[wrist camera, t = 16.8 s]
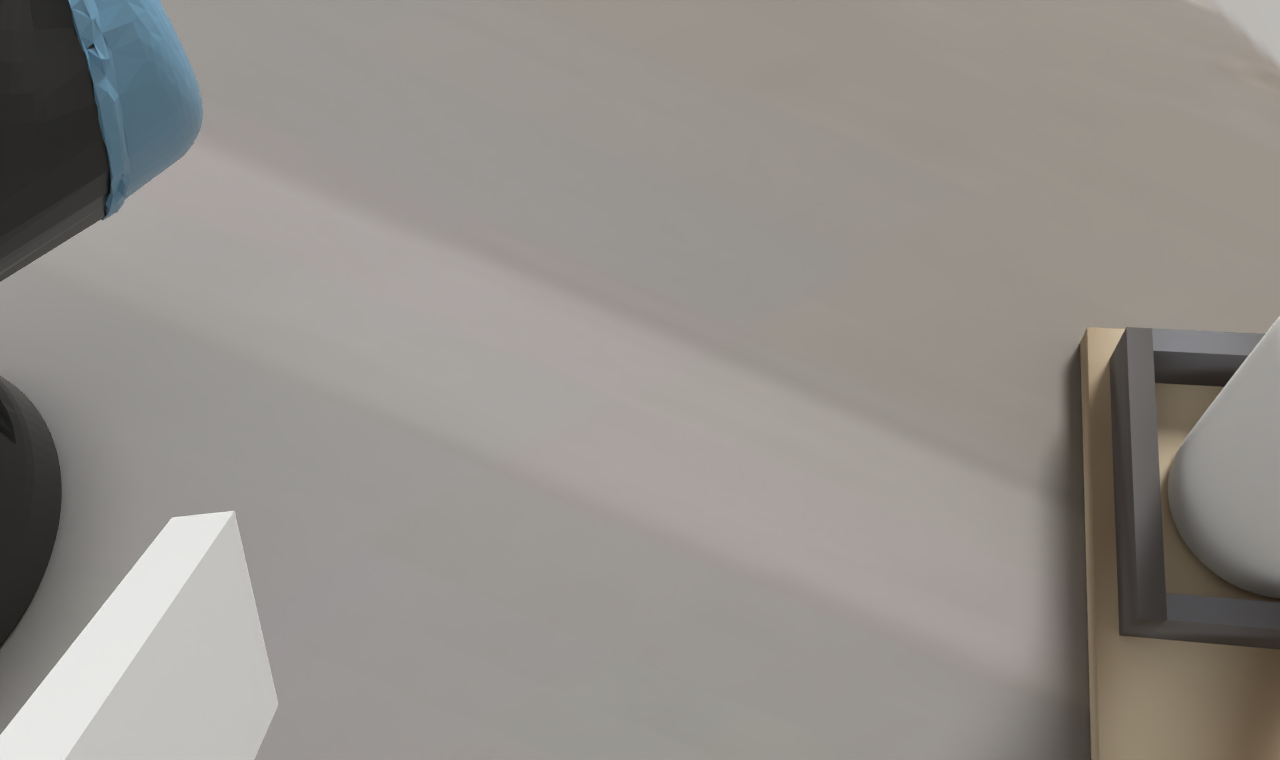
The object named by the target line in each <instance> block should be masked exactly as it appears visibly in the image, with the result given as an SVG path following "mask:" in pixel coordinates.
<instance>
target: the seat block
mask: <svg viewBox="0 0 1280 760" xmlns="http://www.w3.org/2000/svg"><path fill="white" fill-rule="evenodd" d="M1264 335H1265V334H1256V333H1235V332H1214V331H1194V330H1173V329H1152V328H1131V327H1126V329H1111V328H1090V327H1087V329H1086V331H1085V333H1084V335H1083V338H1082V340H1081V342H1080V348H1081V386H1082V424H1083V462H1084V500H1085V538H1086V576H1087V615H1088V653H1089V691H1090V729H1091V760H1280V599H1279V598H1272V597H1267V596H1262V595H1258V594H1255V593H1252V592H1249V591H1246V590H1244V589H1241V588H1239V587H1237V586H1235V585H1233V584H1231V583H1229V582H1227V581H1226V580H1224V579H1222V578H1221V577H1219V576H1218V575H1216V574H1215V573H1214V572H1212V571H1211V570H1210V569H1209V568H1207V567H1206V566H1205V565H1204V564H1203V563H1202V562H1201V561H1200V560H1199V559H1198V558H1197V557H1196V556H1195V555H1194V554H1193V552H1192V551H1191V550H1190V549H1189V547H1188V546H1187V545H1186V543H1185V542H1184V540H1183V539H1182V537H1181V535H1180V533H1179V531H1178V529H1177V527H1176V525H1175V523H1174V520H1173V517H1172V514H1171V510H1170V506H1169V499H1168V479H1169V473H1170V469H1171V465H1172V462H1173V460H1174V457H1175V455H1176V453H1177V451H1178V449H1179V448H1180V446H1181V444H1182V443H1183V441H1184V440H1185V438H1186V437H1187V436H1188V434H1189V433H1190V432H1191V430H1192V429H1193V428H1194V426H1195V425H1196V423H1197V422H1198V421H1199V420H1200V418H1201V417H1202V416H1203V414H1204V413H1205V412H1206V410H1207V409H1208V408H1209V406H1210V405H1211V404H1212V402H1213V401H1214V400H1215V398H1216V397H1217V396H1218V395H1219V393H1220V392H1221V391H1222V389H1223V388H1224V387H1225V385H1226V384H1227V383H1228V382H1229V380H1230V379H1231V378H1232V376H1233V375H1234V374H1235V372H1236V371H1237V370H1238V369H1239V367H1240V366H1241V365H1242V363H1243V362H1244V361H1245V359H1246V358H1247V357H1248V356H1249V354H1250V353H1251V352H1252V350H1253V349H1254V348H1255V347H1256V345H1257V344H1258V343H1259V342H1260V340H1261V339H1262V338H1263V336H1264Z"/></svg>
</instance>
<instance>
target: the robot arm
mask: <svg viewBox="0 0 1280 760" xmlns="http://www.w3.org/2000/svg"><path fill="white" fill-rule="evenodd" d="M202 114H203V108H202V99H201V94H200V90H199V86H198V83H197V80H196V78H195V75H194V72H193V69H192V67H191V65H190V62H189V60H188V57H187V55H186V53H185V51H184V49H183V46H182V44H181V42H180V40H179V38H178V36H177V34H176V32H175V30H174V28H173V26H172V24H171V22H170V20H169V18H168V16H167V14H166V12H165V10H164V8H163V6H162V4H161V2H160V0H0V282H1V281H2V280H4V279H5V278H7V277H9V276H10V275H12V274H13V273H15V272H17V271H18V270H20V269H22V268H23V267H25V266H26V265H28V264H30V263H31V262H33V261H34V260H36V259H38V258H39V257H41V256H42V255H44V254H46V253H47V252H49V251H50V250H52V249H54V248H55V247H57V246H59V245H60V244H62V243H63V242H65V241H67V240H68V239H70V238H71V237H73V236H75V235H76V234H78V233H79V232H81V231H83V230H84V229H86V228H88V227H89V226H91V225H92V224H94V223H96V222H97V221H99V220H100V219H101V220H104V219H106V218H108V217H109V216H111V215H112V214H114V213H116V212H118V210H119V209H120V208H121V206H122V205H123V203H124V200H125V199H126V198H127V197H129V196H130V195H131V194H133V193H134V192H135V191H137V190H138V189H139V188H141V187H142V186H143V185H145V184H146V183H148V182H149V181H150V180H152V179H153V178H154V177H156V176H157V175H158V174H160V173H161V172H162V171H164V170H165V169H166V168H168V167H169V166H171V165H172V164H173V163H175V162H176V161H177V160H179V159H180V158H181V157H182V156H184V155H185V154H186V152H187V151H188V150H189V149H190V147H191V146H192V145H193V143H194V140H195V139H196V137H197V135H198V133H199V130H200V127H201V123H202ZM60 510H61V475H60V467H59V461H58V456H57V452H56V448H55V445H54V442H53V439H52V437H51V434H50V432H49V430H48V427H47V425H46V423H45V421H44V420H43V418H42V416H41V415H40V413H39V412H38V410H37V409H36V408H35V406H34V405H33V404H32V402H31V401H30V400H29V399H28V398H27V397H26V396H25V395H24V394H23V393H22V392H21V391H20V390H19V389H18V388H17V387H15V386H14V385H13V384H11V383H10V382H9V381H7V380H6V379H4V378H3V377H1V376H0V645H1V643H2V642H3V641H4V640H5V639H6V637H7V636H8V635H9V633H10V632H11V631H12V629H13V628H14V627H15V625H16V624H17V622H18V621H19V619H20V618H21V616H22V615H23V613H24V612H25V610H26V608H27V606H28V605H29V603H30V601H31V599H32V598H33V596H34V594H35V592H36V590H37V588H38V586H39V584H40V582H41V579H42V577H43V575H44V572H45V570H46V567H47V565H48V562H49V559H50V556H51V553H52V550H53V546H54V543H55V539H56V534H57V530H58V525H59V518H60ZM277 707H278V701H277V696H276V692H275V687H274V683H273V679H272V674H271V670H270V665H269V661H268V656H267V652H266V648H265V643H264V639H263V634H262V630H261V626H260V621H259V617H258V612H257V608H256V604H255V599H254V595H253V590H252V586H251V582H250V577H249V573H248V568H247V564H246V560H245V555H244V551H243V546H242V542H241V537H240V533H239V529H238V524H237V520H236V515H235V511H228V512H219V513H209V514H200V515H191V516H182V517H172V518H171V520H170V521H169V522H168V523H167V525H166V526H165V527H164V528H163V530H162V531H161V532H160V534H159V535H158V536H157V537H156V539H155V540H154V541H153V542H152V544H151V545H150V546H149V547H148V549H147V550H146V551H145V553H144V554H143V555H142V556H141V558H140V559H139V560H138V561H137V563H136V564H135V565H134V566H133V568H132V569H131V570H130V572H129V573H128V574H127V575H126V577H125V578H124V579H123V580H122V582H121V583H120V584H119V585H118V587H117V588H116V589H115V591H114V592H113V593H112V594H111V596H110V597H109V598H108V599H107V601H106V602H105V603H104V604H103V606H102V607H101V608H100V609H99V611H98V612H97V613H96V615H95V616H94V617H93V618H92V620H91V621H90V622H89V623H88V625H87V626H86V627H85V628H84V630H83V631H82V632H81V634H80V635H79V636H78V637H77V639H76V640H75V641H74V642H73V644H72V645H71V646H70V647H69V649H68V650H67V651H66V653H65V654H64V655H63V656H62V658H61V659H60V660H59V661H58V663H57V664H56V665H55V666H54V668H53V669H52V670H51V672H50V673H49V674H48V675H47V677H46V678H45V679H44V680H43V682H42V683H41V684H40V685H39V687H38V688H37V689H36V690H35V692H34V693H33V694H32V696H31V697H30V698H29V699H28V701H27V702H26V703H25V704H24V706H23V707H22V708H21V709H20V711H19V712H18V713H17V715H16V716H15V717H14V718H13V720H12V721H11V722H10V723H9V725H8V726H7V727H6V728H5V730H4V731H3V732H2V734H1V735H0V760H254V759H255V757H256V755H257V752H258V750H259V748H260V746H261V743H262V741H263V739H264V737H265V734H266V732H267V730H268V727H269V725H270V723H271V721H272V718H273V716H274V714H275V712H276V709H277Z"/></svg>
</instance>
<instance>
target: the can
mask: <svg viewBox="0 0 1280 760" xmlns="http://www.w3.org/2000/svg"><path fill="white" fill-rule="evenodd" d="M1168 499H1169V506H1170V510H1171V514H1172V517H1173V520H1174V523H1175V525H1176V527H1177V529H1178V531H1179V533H1180V535H1181V537H1182V539H1183V540H1184V542H1185V543H1186V545H1187V546H1188V547H1189V549H1190V550H1191V551H1192V552H1193V554H1194V555H1195V556H1196V557H1197V558H1198V559H1199V560H1200V561H1201V562H1202V563H1203V564H1204V565H1205V566H1206V567H1207V568H1209V569H1210V570H1211V571H1212V572H1214V573H1215V574H1216V575H1218V576H1219V577H1221V578H1222V579H1224V580H1226V581H1227V582H1229V583H1231V584H1233V585H1235V586H1237V587H1239V588H1241V589H1244V590H1246V591H1249V592H1252V593H1255V594H1258V595H1262V596H1267V597H1272V598H1279V599H1280V316H1279V317H1278V319H1277V320H1276V321H1275V322H1274V324H1273V325H1272V326H1271V327H1270V329H1269V330H1268V331H1267V333H1266V334H1265V335H1264V336H1263V338H1262V339H1261V340H1260V342H1259V343H1258V344H1257V345H1256V347H1255V348H1254V349H1253V350H1252V352H1251V353H1250V354H1249V356H1248V357H1247V358H1246V359H1245V361H1244V362H1243V363H1242V365H1241V366H1240V367H1239V369H1238V370H1237V371H1236V372H1235V374H1234V375H1233V376H1232V378H1231V379H1230V380H1229V382H1228V383H1227V384H1226V385H1225V387H1224V388H1223V389H1222V391H1221V392H1220V393H1219V395H1218V396H1217V397H1216V398H1215V400H1214V401H1213V402H1212V404H1211V405H1210V406H1209V408H1208V409H1207V410H1206V412H1205V413H1204V414H1203V416H1202V417H1201V418H1200V420H1199V421H1198V422H1197V423H1196V425H1195V426H1194V428H1193V429H1192V430H1191V432H1190V433H1189V434H1188V436H1187V437H1186V438H1185V440H1184V441H1183V443H1182V444H1181V446H1180V448H1179V449H1178V451H1177V453H1176V455H1175V457H1174V460H1173V462H1172V465H1171V469H1170V473H1169V479H1168Z"/></svg>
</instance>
